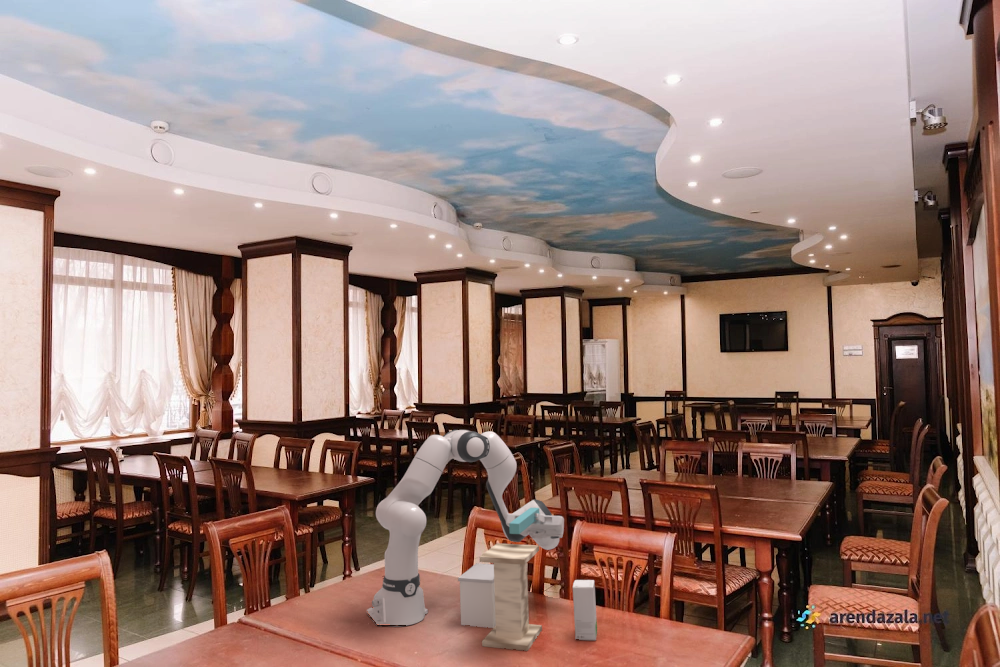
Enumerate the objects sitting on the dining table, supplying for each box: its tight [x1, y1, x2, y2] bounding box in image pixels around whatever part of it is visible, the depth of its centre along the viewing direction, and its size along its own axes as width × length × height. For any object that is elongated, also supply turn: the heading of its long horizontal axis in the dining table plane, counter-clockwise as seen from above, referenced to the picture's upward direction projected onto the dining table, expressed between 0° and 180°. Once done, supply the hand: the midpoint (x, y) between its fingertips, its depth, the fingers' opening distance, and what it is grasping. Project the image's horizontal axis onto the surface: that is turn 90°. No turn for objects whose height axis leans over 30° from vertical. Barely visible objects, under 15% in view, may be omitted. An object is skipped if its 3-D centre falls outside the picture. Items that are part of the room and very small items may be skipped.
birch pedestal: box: [479, 543, 543, 652], centre depth 202 cm, size 16×14×26 cm
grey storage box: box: [457, 562, 496, 629], centre depth 220 cm, size 17×12×15 cm
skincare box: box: [572, 579, 598, 641], centre depth 202 cm, size 8×7×16 cm
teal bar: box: [509, 508, 540, 534], centre depth 219 cm, size 24×3×3 cm, turn 161°
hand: (529, 515), depth 224 cm, fingers closed on teal bar, 3 cm apart
